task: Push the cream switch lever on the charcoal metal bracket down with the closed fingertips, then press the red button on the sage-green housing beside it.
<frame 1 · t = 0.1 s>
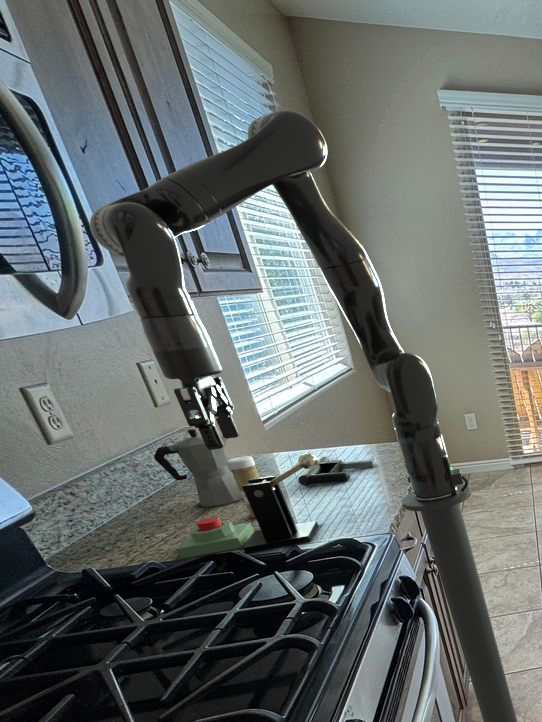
hand: (224, 442, 99), 23 cm above the worktop, tool pointing down, fingers open, 8 cm apart
black handled frame: (339, 474, 156), on the worktop
coffeepot: (218, 502, 140), on the worktop
switch bracket: (283, 539, 116), on the worktop
button box: (219, 544, 115), on the worktop
red button: (209, 524, 113), point 5 cm above the worktop, slide at 0.2 cm
sprinkles bottle: (263, 515, 130), on the worktop
switch lever: (285, 474, 112), point 13 cm above the worktop, hinge at 25.0°
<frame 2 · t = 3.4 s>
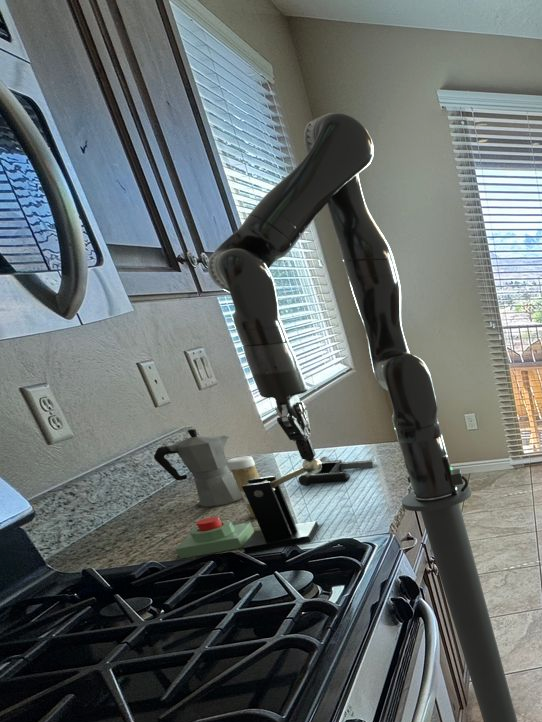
hand: (309, 457, 113), 16 cm above the worktop, tool pointing down, fingers closed
switch lever: (288, 477, 113), point 13 cm above the worktop, hinge at 18.9°, touching gripper
everything else where it was.
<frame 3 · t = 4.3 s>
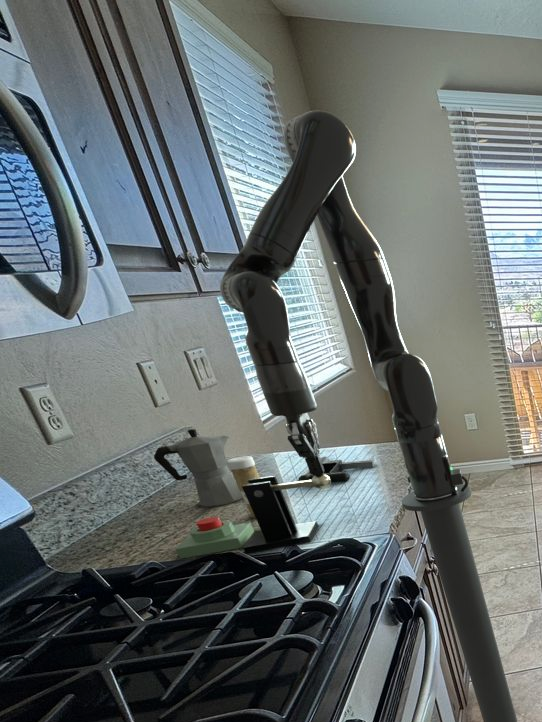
hand: (318, 473, 115), 12 cm above the worktop, tool pointing down, fingers closed
switch lever: (293, 485, 113), point 11 cm above the worktop, hinge at -1.4°, touching gripper
everything else where it was.
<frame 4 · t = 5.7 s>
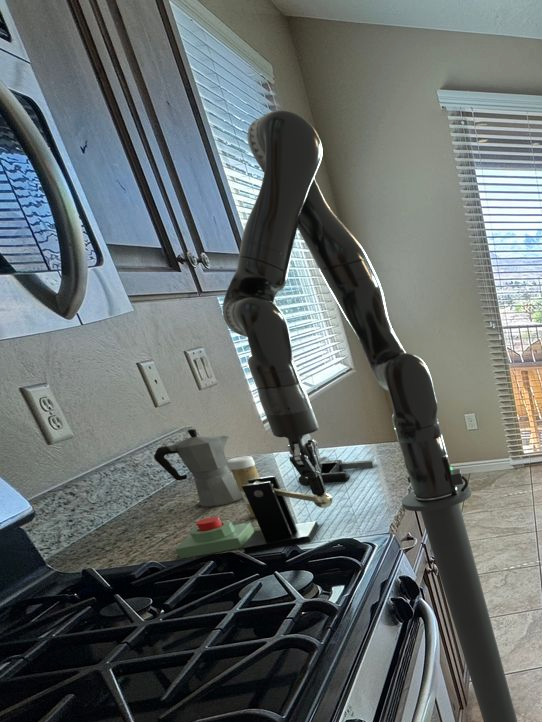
hand: (319, 493, 116), 8 cm above the worktop, tool pointing down, fingers closed
switch lever: (294, 495, 114), point 9 cm above the worktop, hinge at -24.8°, touching gripper
everything else where it was.
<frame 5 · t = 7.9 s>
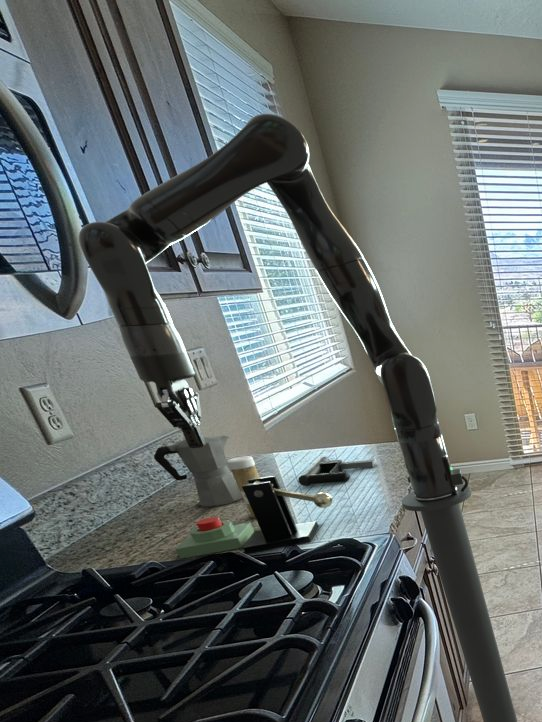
hand: (198, 446, 107), 20 cm above the worktop, tool pointing down, fingers closed
switch lever: (294, 495, 114), point 9 cm above the worktop, hinge at -24.8°
everything else where it was.
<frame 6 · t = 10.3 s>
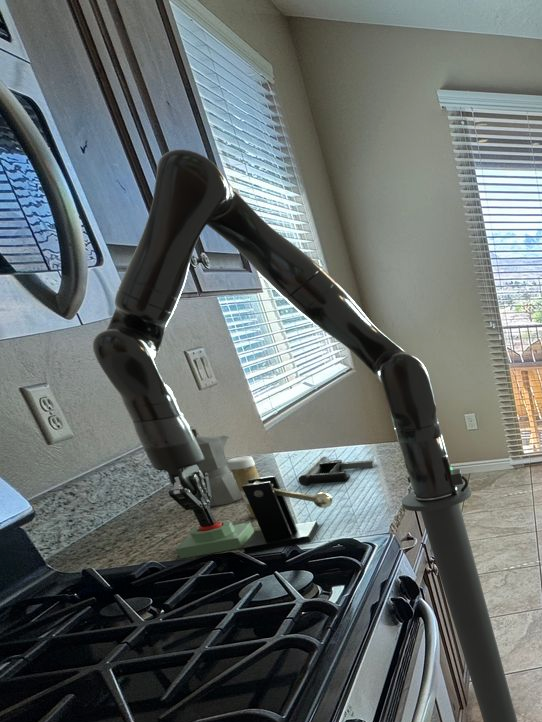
hand: (209, 524, 113), 4 cm above the worktop, tool pointing down, fingers closed
red button: (211, 528, 114), point 4 cm above the worktop, slide at -0.8 cm, touching gripper
everything else where it was.
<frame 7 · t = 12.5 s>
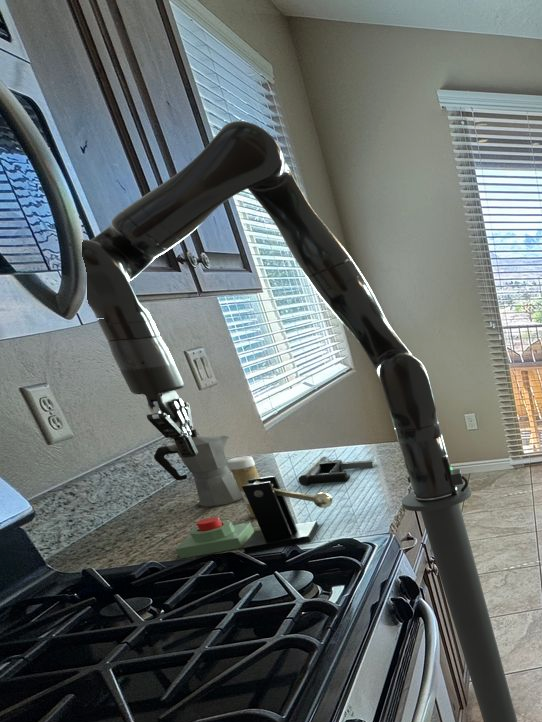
hand: (191, 456, 110), 18 cm above the worktop, tool pointing down, fingers closed
red button: (209, 524, 113), point 5 cm above the worktop, slide at 0.2 cm
everything else where it was.
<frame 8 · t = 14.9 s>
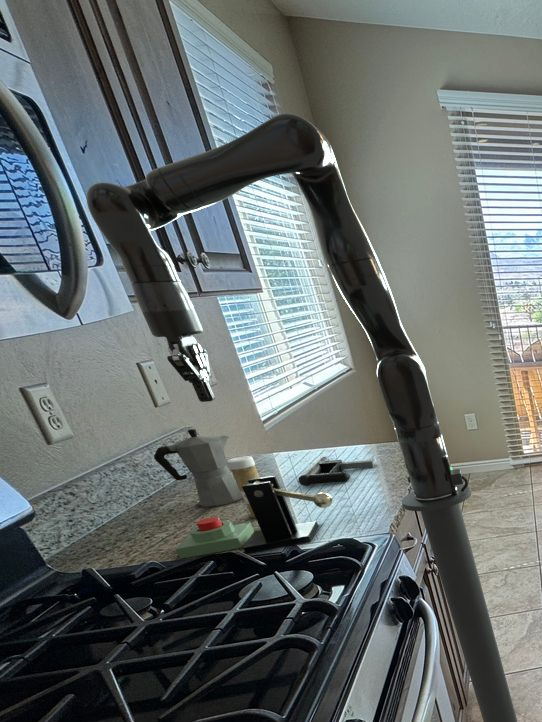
hand: (208, 400, 114), 27 cm above the worktop, tool pointing down, fingers closed
nothing on the worktop moved.
at the end: switch lever at -25° (first picture: +25°); red button pushed in 1.1 cm at the most during the clip, back to 0.2 cm at the end; red button slide at 0.2 cm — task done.
